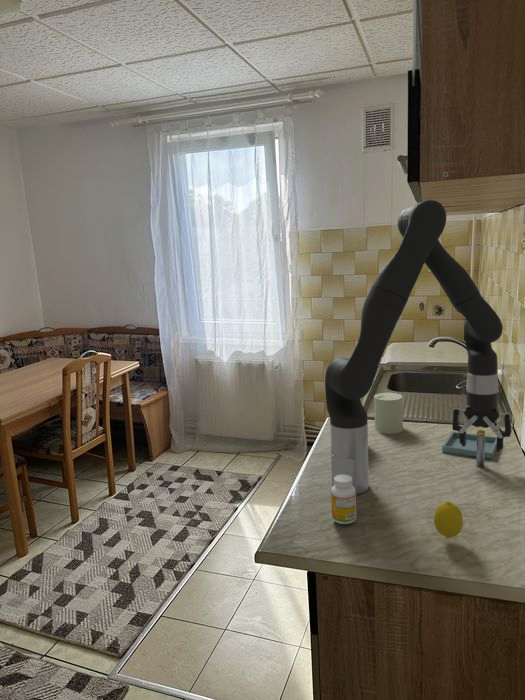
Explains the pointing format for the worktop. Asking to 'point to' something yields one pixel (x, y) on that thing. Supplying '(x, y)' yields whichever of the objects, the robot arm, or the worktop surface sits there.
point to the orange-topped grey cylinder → (480, 448)
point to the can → (388, 413)
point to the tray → (469, 445)
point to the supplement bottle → (343, 500)
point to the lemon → (448, 519)
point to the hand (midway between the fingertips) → (481, 447)
